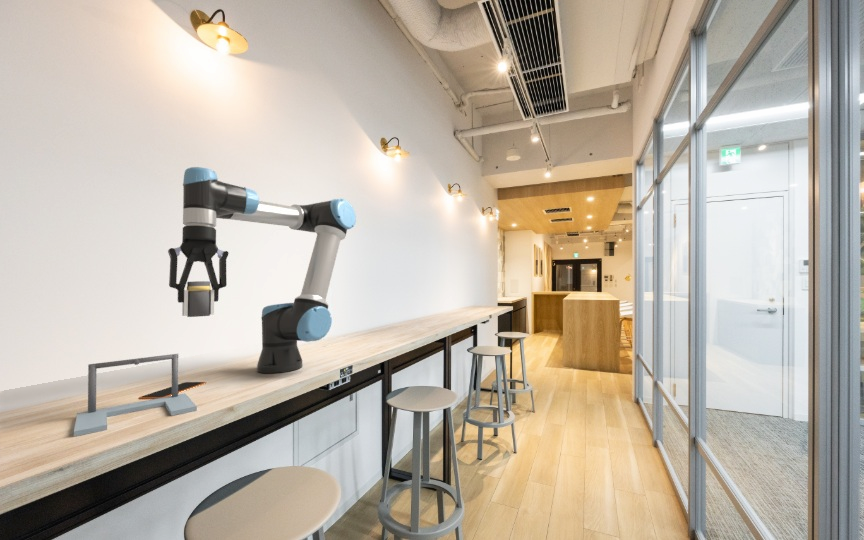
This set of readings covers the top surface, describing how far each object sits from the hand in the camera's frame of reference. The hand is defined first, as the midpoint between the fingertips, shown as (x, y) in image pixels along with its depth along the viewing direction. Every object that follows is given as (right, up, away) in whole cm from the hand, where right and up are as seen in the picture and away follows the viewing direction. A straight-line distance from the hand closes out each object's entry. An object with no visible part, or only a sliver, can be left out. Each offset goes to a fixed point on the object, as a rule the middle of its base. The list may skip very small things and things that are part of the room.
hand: (198, 314), depth 96 cm
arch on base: (-8, -22, -10) cm, 26 cm away
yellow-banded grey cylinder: (0, 0, 0) cm, 0 cm away
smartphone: (-14, -24, +11) cm, 30 cm away
